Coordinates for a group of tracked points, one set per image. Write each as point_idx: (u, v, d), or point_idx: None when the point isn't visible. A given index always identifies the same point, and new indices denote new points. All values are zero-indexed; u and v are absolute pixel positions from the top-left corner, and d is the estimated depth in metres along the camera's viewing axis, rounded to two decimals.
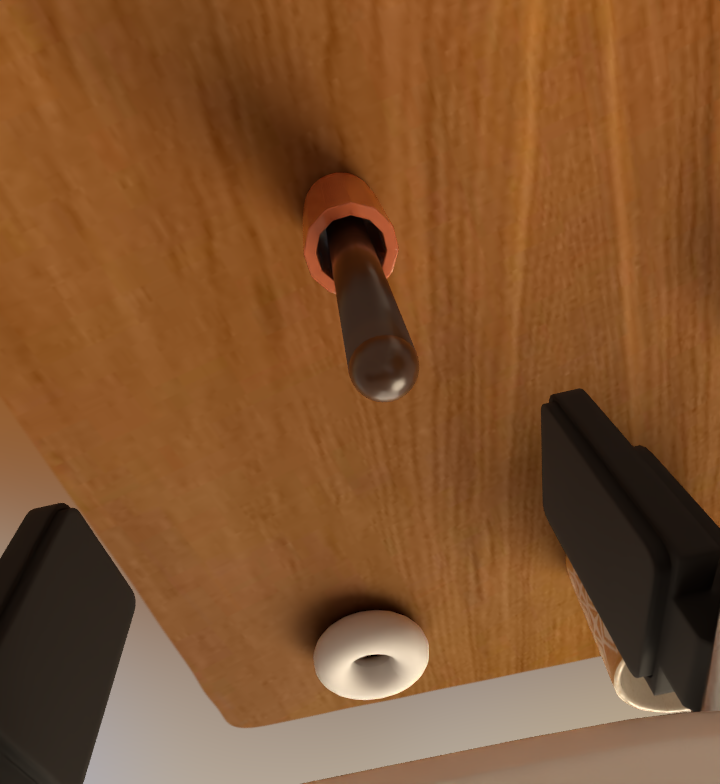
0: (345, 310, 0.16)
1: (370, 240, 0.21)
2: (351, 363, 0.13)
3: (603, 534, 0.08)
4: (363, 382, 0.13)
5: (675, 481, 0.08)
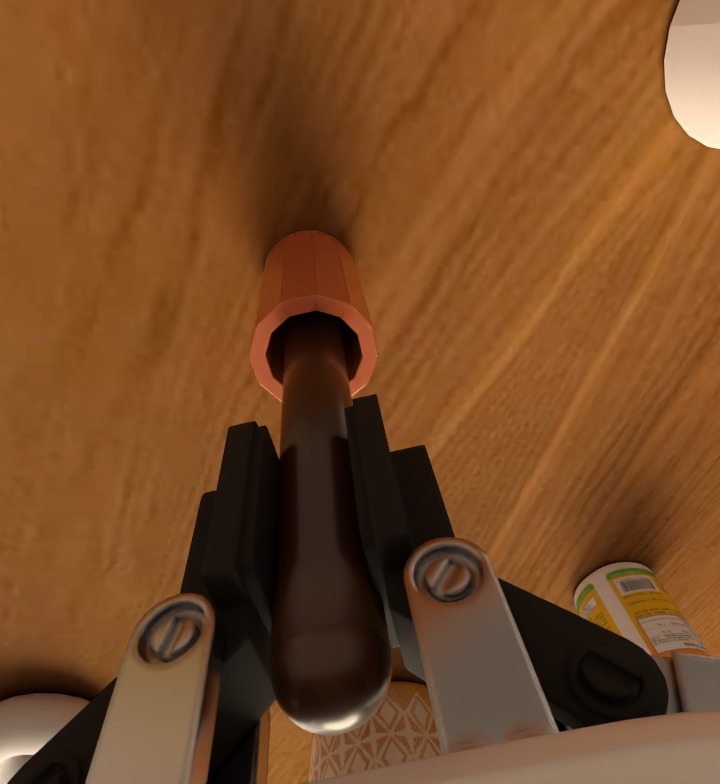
0: (301, 500, 0.10)
1: None
2: (290, 651, 0.07)
3: None
4: (295, 701, 0.07)
5: (432, 476, 0.10)
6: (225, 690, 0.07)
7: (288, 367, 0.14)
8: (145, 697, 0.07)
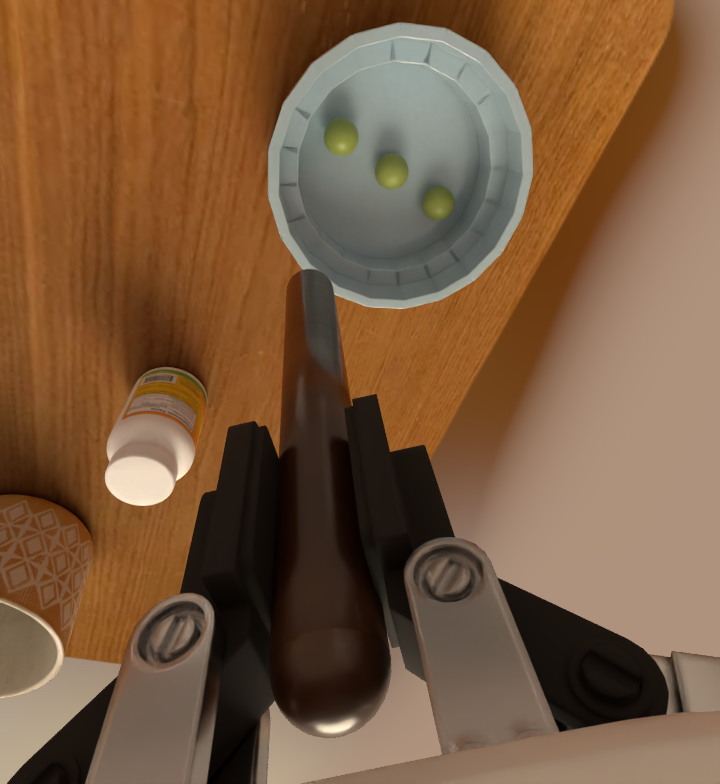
0: (300, 502, 0.10)
1: None
2: (289, 653, 0.07)
3: None
4: (294, 703, 0.07)
5: (432, 476, 0.10)
6: (225, 690, 0.07)
7: (287, 369, 0.14)
8: (145, 697, 0.07)
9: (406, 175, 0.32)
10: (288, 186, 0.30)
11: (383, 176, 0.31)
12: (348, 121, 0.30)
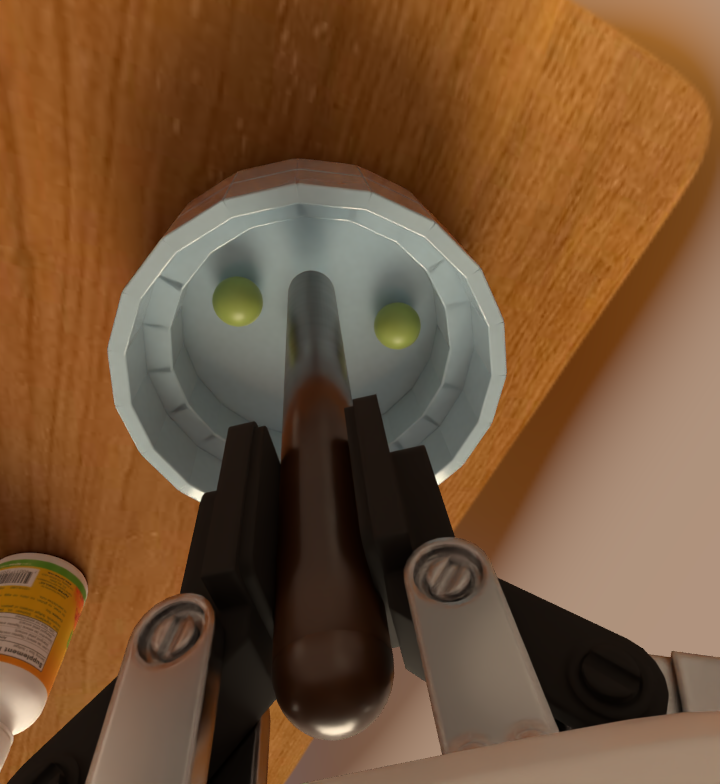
0: (303, 503, 0.10)
1: None
2: (292, 655, 0.07)
3: None
4: (297, 705, 0.07)
5: (432, 476, 0.10)
6: (225, 690, 0.07)
7: (289, 370, 0.14)
8: (145, 697, 0.07)
9: None
10: (159, 371, 0.21)
11: None
12: (245, 284, 0.21)
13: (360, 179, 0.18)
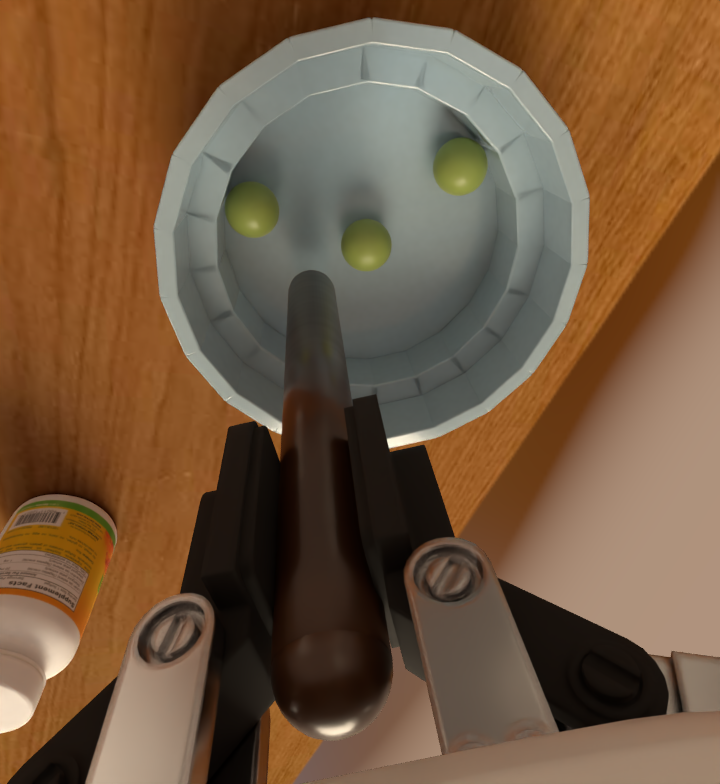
0: (302, 503, 0.10)
1: None
2: (291, 655, 0.07)
3: None
4: (296, 705, 0.07)
5: (432, 476, 0.10)
6: (225, 690, 0.07)
7: (289, 370, 0.14)
8: (145, 697, 0.07)
9: (388, 252, 0.21)
10: (203, 271, 0.20)
11: (352, 254, 0.20)
12: (236, 200, 0.19)
13: None
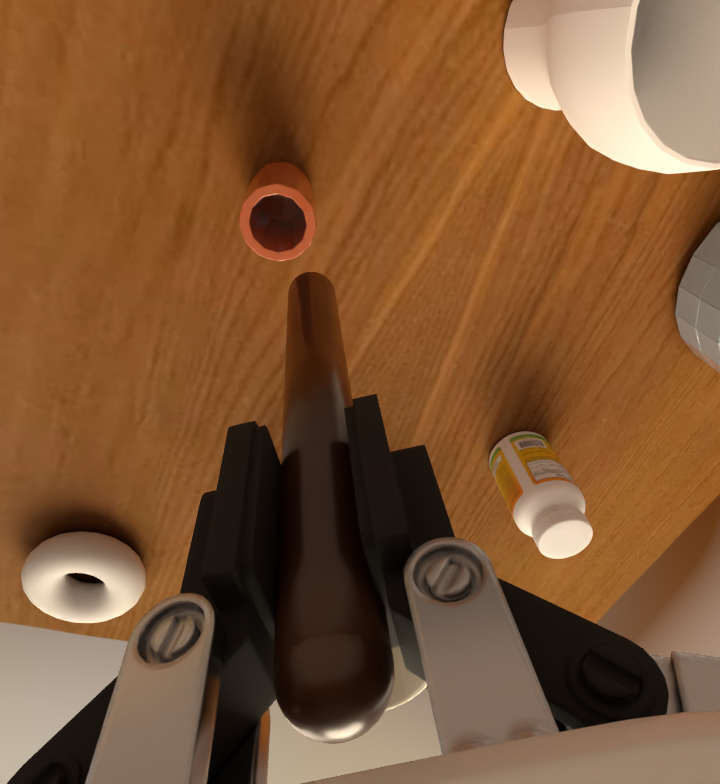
0: (304, 506, 0.10)
1: None
2: (293, 659, 0.07)
3: None
4: (298, 709, 0.07)
5: (432, 476, 0.10)
6: (225, 690, 0.07)
7: (290, 372, 0.14)
8: (145, 697, 0.07)
9: None
10: None
11: None
12: None
13: None
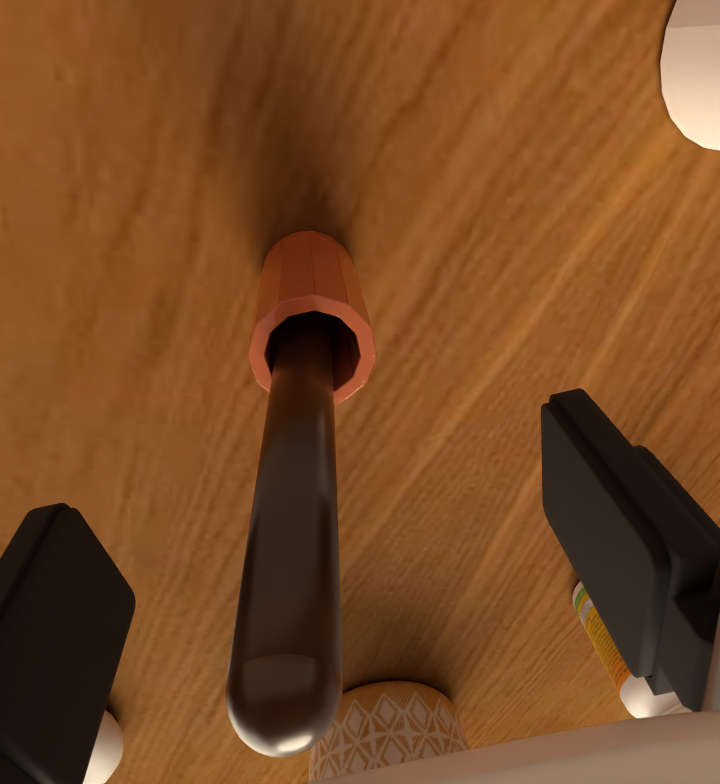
0: (269, 523, 0.10)
1: (332, 370, 0.16)
2: (242, 676, 0.08)
3: (603, 534, 0.08)
4: (244, 724, 0.08)
5: (675, 481, 0.08)
6: None
7: (274, 381, 0.15)
8: None
9: None
10: None
11: None
12: None
13: None
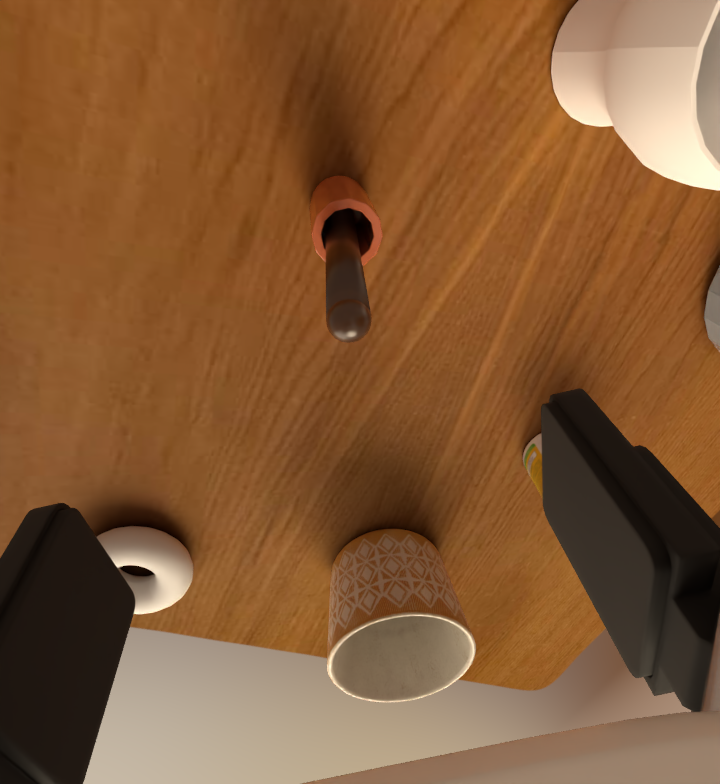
0: (337, 276, 0.23)
1: None
2: (334, 306, 0.21)
3: (603, 534, 0.08)
4: (336, 320, 0.21)
5: (675, 481, 0.08)
6: None
7: (328, 242, 0.28)
8: None
9: None
10: None
11: None
12: None
13: None
